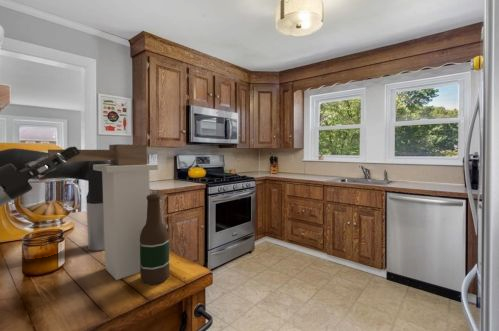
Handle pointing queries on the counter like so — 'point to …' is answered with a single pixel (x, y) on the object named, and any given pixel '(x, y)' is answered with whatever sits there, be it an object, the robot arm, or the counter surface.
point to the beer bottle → (154, 245)
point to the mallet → (111, 155)
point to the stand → (124, 215)
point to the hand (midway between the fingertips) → (75, 149)
